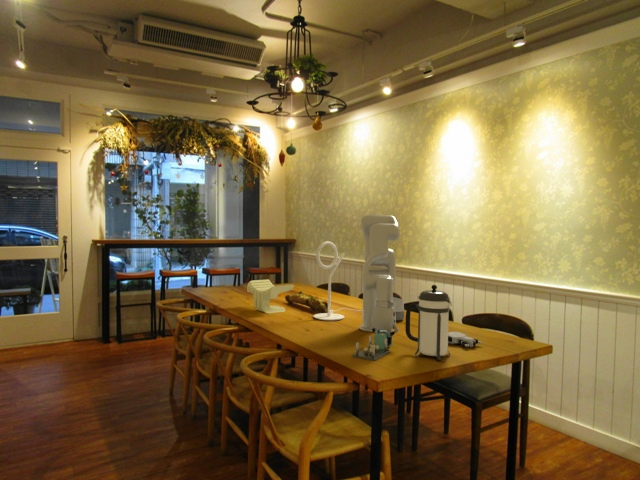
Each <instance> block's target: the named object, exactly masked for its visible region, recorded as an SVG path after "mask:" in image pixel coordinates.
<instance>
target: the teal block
mask: <svg viewBox="0 0 640 480" xmlns="http://www.w3.org/2000/svg"><path fill="white" fill-rule="evenodd" d="M373 334H374V333H373ZM373 337H374V340H373V341H374V342H373V344H374V345H379V349H384V338H387V337H388V334H387V330H383V331H380V332H379V333H376V334H374V335H373ZM392 345H393V342H392V343H391V345H390V346H392ZM390 346H387V348H389V347H390Z"/></svg>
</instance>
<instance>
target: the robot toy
mask: <svg viewBox="0 0 640 480" xmlns="http://www.w3.org/2000/svg"><path fill="white" fill-rule="evenodd" d="M448 344H450V345H455V344H461V346H462V347H465V348H472V347H476V345H478V344H480V345H481V344H483V343H482V341H481V340H478V339H477V338H476V339H475V338H473V337H470V336H468V335H466V334H465V333H462V332H459V331H448Z"/></svg>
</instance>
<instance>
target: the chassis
mask: <svg viewBox="0 0 640 480" xmlns="http://www.w3.org/2000/svg"><path fill="white" fill-rule="evenodd" d="M372 341H373V336H372V335H368V346H367V347H366V346H365V347H363V349H361V350H360V349H359V348H360V342H358V341H357V342H355V353H354V354H352V357H353V358H357V359H364V360H369V361H375V362H376V361H377V360H379V359H380V358H383V357H384V356H385V355H388V354H389V353H390V350H389V349H388V347H387V338H384V349H379V345H374V343H373V342H372Z"/></svg>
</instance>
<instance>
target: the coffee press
mask: <svg viewBox="0 0 640 480" xmlns="http://www.w3.org/2000/svg"><path fill="white" fill-rule="evenodd" d="M437 289H438V286H437V285H436V284H432V285H431V289H427V290H423V291H421V292H420V293H419V295H418V296H417V297H418V303H411V304H409V305H408V306H407V307H406V311H405V334H406V336H407V338H408V339H409V340H411V341H414V342H416V343H417V349H416V351H415V353H414V355H415V356H416V357H417V358H418V357H420V356H422V355H425V356H431V357H435V359H436V362H441V361H442V359H441V357H443V356H447V357H450V356H451V353H450V352H449V350H448V349H449V342H448V333H449V313H450V307H453V304H452V301H451V297H450V296H449V294H448V293H447V292H445V291H443V290H437ZM413 309H418V321H417V322H418V324H417V325H418V326H417V328H418V329H417V330H418V331H417V336H413V334H412V333H411V313H412V312H411V311H413ZM447 353H448V354H447Z"/></svg>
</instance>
